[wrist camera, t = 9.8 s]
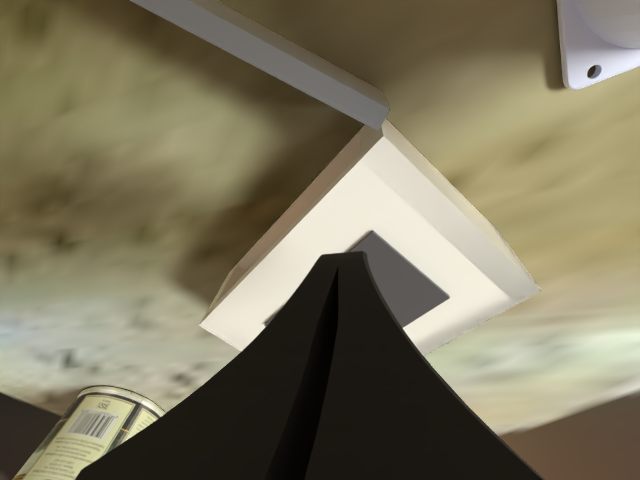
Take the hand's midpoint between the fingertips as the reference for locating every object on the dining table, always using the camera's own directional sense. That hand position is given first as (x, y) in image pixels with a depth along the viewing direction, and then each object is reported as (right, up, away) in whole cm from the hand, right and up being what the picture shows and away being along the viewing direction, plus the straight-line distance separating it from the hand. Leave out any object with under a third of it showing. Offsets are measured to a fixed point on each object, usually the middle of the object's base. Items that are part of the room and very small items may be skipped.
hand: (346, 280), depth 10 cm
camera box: (+1, 0, +11) cm, 11 cm away
